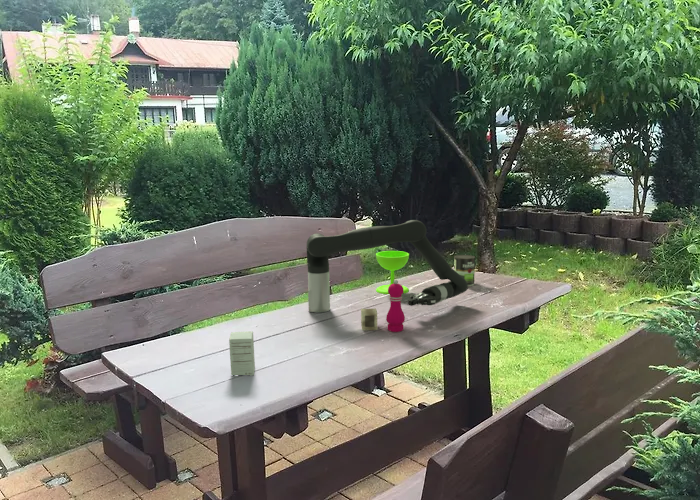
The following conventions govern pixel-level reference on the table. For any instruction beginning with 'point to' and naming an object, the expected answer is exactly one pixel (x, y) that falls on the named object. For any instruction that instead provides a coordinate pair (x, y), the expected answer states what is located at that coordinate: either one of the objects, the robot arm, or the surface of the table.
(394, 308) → the pepper mill
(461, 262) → the coffee can
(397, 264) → the wineglass
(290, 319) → the table surface
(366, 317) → the pale yellow cube-like block
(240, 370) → the supplement box
